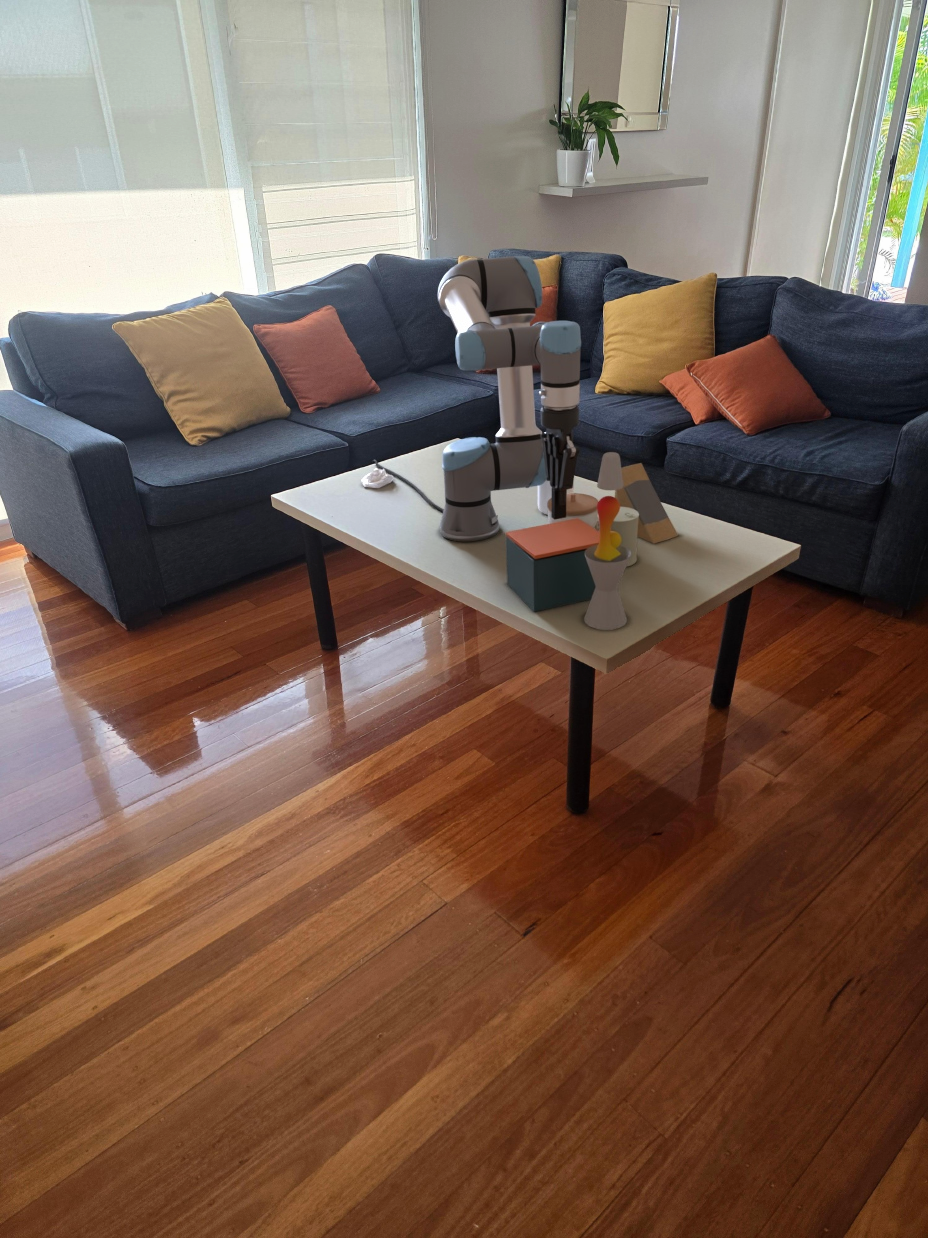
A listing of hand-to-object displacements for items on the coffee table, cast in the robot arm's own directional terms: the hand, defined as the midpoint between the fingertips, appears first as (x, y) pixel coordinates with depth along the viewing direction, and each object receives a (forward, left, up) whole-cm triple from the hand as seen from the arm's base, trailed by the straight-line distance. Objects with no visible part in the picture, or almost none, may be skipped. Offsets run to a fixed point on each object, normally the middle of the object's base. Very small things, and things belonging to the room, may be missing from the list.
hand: (558, 517), depth 175 cm
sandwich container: (-21, +34, -18) cm, 44 cm away
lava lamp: (+16, +3, -18) cm, 24 cm away
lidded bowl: (-26, +16, -18) cm, 35 cm away
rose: (-88, -17, -18) cm, 91 cm away
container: (-1, 0, -17) cm, 17 cm away
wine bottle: (-44, +20, -18) cm, 51 cm away
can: (-9, +19, -18) cm, 28 cm away
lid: (0, 0, -5) cm, 5 cm away
